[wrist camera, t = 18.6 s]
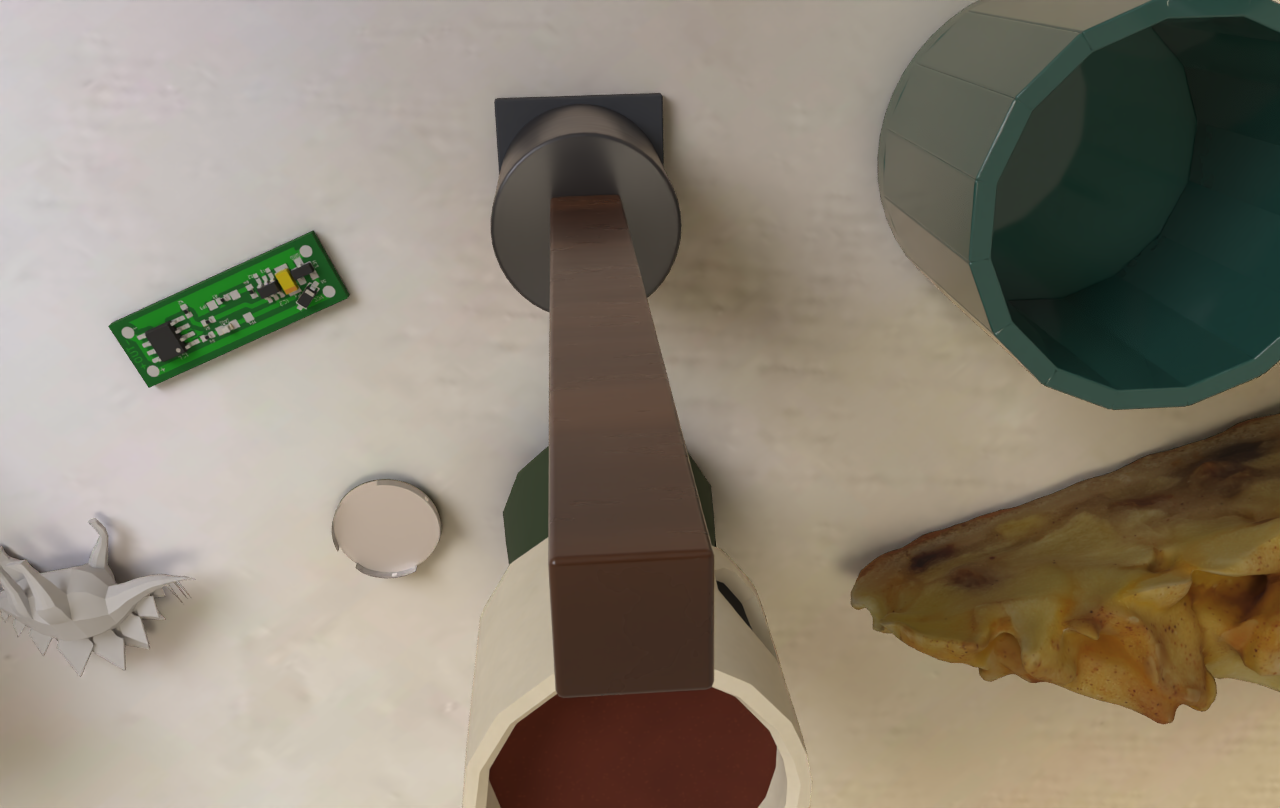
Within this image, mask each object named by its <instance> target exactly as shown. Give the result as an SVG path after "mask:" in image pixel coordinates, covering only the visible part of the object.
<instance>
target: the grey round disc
mask: <svg viewBox="0 0 1280 808" xmlns="http://www.w3.org/2000/svg"><path fill="white" fill-rule="evenodd" d="M440 533H441V522H440V517H439V514H438V511H437V509H436V507H435V505H434V503H433V502H432V501H431V499H430V498H429V497H428V496H427V495H426V494H425V493H424V492H422V491H421V490H420V489H418V488H416V487H415V486H413V485H411V484H408V483H405V482H402V481H398V480H391V479H380V480H373V481H369V482H366V483H363V484H361V485H359V486H357V487H355V488H354V489H352V490H351V491H350V492H349V493H347V494H346V495H345V496H344V498H343V499H342V500H341V502H340V503H339V505H338V507H337V509H336V512H335V515H334V518H333V522H332V538H333V542H334V545H335V547H336V549H337V551H338V550H339V546H340V548H341V549H342V551H343V552H344V553H345V554H346V555H347V556H348V557H349V558H350V559H351V560H352V561H354V562H355V563H357V565H356V569H358V570H359V571H360V572H362V573H364V574H366V575H370V576H373V577H379V578H397V577H402V576H406V575H408V574H411V573H413V572H415V571H416V568H417V565H419V564H420V563H422V562H423V561H424V560H425V559H427V558H428V557H429V556H430V554H431V553H432V552H433V551H434V549H435V547H436V545H437V543H438V541H439V540H440Z"/></svg>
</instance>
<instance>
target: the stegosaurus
mask: <svg viewBox="0 0 1280 808" xmlns="http://www.w3.org/2000/svg"><path fill="white" fill-rule="evenodd" d="M88 523H89V524H90V525H91V526H92V527H93V528H94V529H95V530H96V531H97V532H98V534H99V535H100V536H99V538H98V541H97V544H96V545H95V547H94V549H93V551H92V553H91V556H90V559H89V562H88V563H87V564H84V565H82V566H76V567H71V568H65V569H60V570H54V571H49V572H44V573H39V571H37V570H36V569H34V568H33V567H31V565H30V564H29V563H28V562H27V560H26V559H25V560H18V559H15V558H12V557H10V556H9V555H7V554H6V553H5V551H4V549H3V547H2V546H0V583H1V585H2V587H3V588H4V590H3V591H1V592H0V611H1V617H2V618H3V620H4V622H5V623H6V621H7V618H8V616H9V615H10V616H12V617H13V618H15V620H14V621H13V626H14V629H15V631H16V634H17V636H18V637H19V636H20V634H21V632H22V631H23V629H24V627H25V626H27V627H29V628H31V629H30V632H29V636H30V637H31V639H32V640H33V642H34V643H35V645H36V646H37V648H38V649H39V651H40V652H41V654H42V655H43V656H44V654H45V652H46V650H47V648H48V646H49V643H50V641H51V639H52V637H53V638H56V639H57V641H58V644H57V649H58V650H59V652H60V653H61V654H62V655H63V657H64V658H65V659H66V660H67V661H68V663H69V664H70V665H71V666H72V668H73V669H74V670H75V671H76V673H77V674H78V675H79V676H80V677H81V676H82V674H83V671H84V669H85V666H86V664H87V662H88V659H89V657H90V654H91V652H92V651H93V652H95V654H97V655H99V656H100V657H102V658H104V659H105V660H107V661H109V662H110V663H112V664H114V665H115V666H117V667H119V668H120V669H122V670H124V671H125V670H126V665H125V645H128V646H134V647H140V648H146V649H150V646H149V641H148V638H147V635H146V631H145V628H144V625H143V622H142V619H158V620H166V619H165V618H164V617H163V616H162V615H161V614H160V613H159V612H158V610H157V606H156V603H155V600H154V598H155V597H163V596H165V594H164V591H163V589H162V587H164V586H166V587H167V588H168V589H169V590H170V591H171V592H172V593H173V594H175V596H176V597H177V598H178V599H179V597H178V596H177V595H176V593H175V592H174V591H173V589H172V588H171V587H170V585H169V584H171V583H174V584H175V585H176V586H177V587H178V588H179V589H180V587H179V586H178V584H179V585H180V586H181V587H182V588H183V589H184V587H183V586H182V585H181V583H180V582H179V581H182V580H196V579H193V578H189V577H185V576H172V575H166V574H156V575H148V576H143V577H140V578H136V579H133V580H130V581H128V582H125V583H120V584H117V583H116V582H115V577H114V575H113V573H112V570H111V569H110V567H109V566H108V534H107V531H106V528H105V527H104V526H103V525H102V524H101V523H100V522H99V521H98V520H97V519H96V518H93V519H90V520H89V521H88ZM176 582H177V583H178V584H177V583H176ZM180 591H181V592H182V593H183V591H182V590H181V589H180ZM184 591H185V592H186V593H187V591H186V590H185V589H184ZM149 594H150V596H147V595H149ZM183 594H184V593H183ZM187 594H188V593H187ZM184 595H185V594H184ZM188 595H189V594H188ZM189 596H190V595H189ZM185 597H186V596H185ZM186 598H187V597H186ZM187 599H188V598H187ZM179 600H180V599H179ZM180 601H181V600H180ZM181 602H182V601H181ZM132 612H134V613H135V614H136V615H137V616H135V615H133V614H132Z"/></svg>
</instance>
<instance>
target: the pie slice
mask: <svg viewBox="0 0 1280 808" xmlns="http://www.w3.org/2000/svg"><path fill="white" fill-rule="evenodd" d="M851 605H852V607H853V608H854V609H857V610H860V609H863V608H867V609H868V610H869V611H870V613H871V615H872V617H873V629H874V630H876V631H879V632H882V633H893V634H894V635H895V636H896V637H897V638H899V639H900V640H901V641H903V642H904V643H906V644H907V645H908V646H910V647H913V648H915V649H916V650H918V651H920V652H922V653H925V654H927V655H930V656H932V657H934V658H937V659H939V660H943V661H946V662H950V663H964V664H968V665H971V666H973V667H978V668H979V674H980V676H981V677H982V678H983V679H984V680H986V681H990V682H992V681H994V680H996V679H998V678H1000V677H1003V676H1005V675H1008V674H1016V675H1018V676H1020V677H1021V678H1022V679H1024V680H1026V681H1028V682H1030V683H1037V682H1049V683H1053V684H1056V685H1059V686H1061V687H1064V688H1066V689H1068V690H1071V691H1073V692H1076V693H1079V694H1082V695H1085V696H1088V697H1091V698H1094V699H1098V700H1101V701H1105V702H1109V703H1113V704H1117V705H1121V706H1123V707H1126V708H1129V709H1132V710H1134V711H1136V712H1138V713H1140V714H1142V715H1145V716H1147V717H1148V718H1150V719H1152V720H1154V721H1155V722H1157V723H1160V724H1167V723H1171V722H1172V721H1173V720H1174V716H1175V712H1176V709H1177V708H1178V706H1179V705H1181V704H1185V705H1188V706H1190V707H1191V708H1193V709H1195V710H1198V711H1206V710H1207V709H1208V708H1209V707H1210V705H1211V704H1212V703H1213V702H1214V700H1215V698H1216V694H1217V689H1216V682H1215V679H1214V678H1218V679H1222V678H1234V679H1238V680H1243V681H1247V682H1252V683H1256V684H1259V685H1262V686H1265V687H1268V688H1271V689H1274V690H1276V691H1279V692H1280V414H1275V415H1270V416H1264V417H1259V418H1254V419H1251V420H1247V421H1244V422H1241V423H1239V424H1236V425H1234V426H1233V427H1231V428H1229V429H1227V430H1226V431H1224V432H1222V433H1220V434H1217V435H1215V436H1212V437H1210V438H1207V439H1204V440H1201V441H1197V442H1194V443H1190V444H1187V445H1184V446H1181V447H1178V448H1175V449H1172V450H1168V451H1164V452H1159V453H1155V454H1150V455H1147V456H1145V457H1142V458H1140V459H1138V460H1136V461H1135V462H1133V463H1131V464H1129V465H1127V466H1125V467H1123V468H1120V469H1118V470H1116V471H1114V472H1111V473H1109V474H1106V475H1102V476H1098V477H1094V478H1091V479H1087V480H1084V481H1081V482H1078V483H1076V484H1074V485H1071V486H1069V487H1067V488H1065V489H1063V490H1060V491H1058V492H1055V493H1053V494H1050V495H1047V496H1044V497H1041V498H1038V499H1036V500H1033V501H1031V502H1028V503H1025V504H1023V505H1020V506H1017V507H1014V508H1010V509H1003V510H999V511H996V512H992V513H989V514H985V515H982V516H979V517H976V518H974V519H972V520H969V521H967V522H964V523H960V524H957V525H954V526H952V527H949V528H946V529H943V530H939V531H934V532H930V533H927V534H924V535H922V536H921V537H919V538H917V539H916V540H914V541H913V542H911V543H910V544H908V545H906V546H904V547H903V548H900V549H897V550H893V551H890V552H887V553H885V554H883V555H881V556H879V557H878V558H876V559H875V560H873V561H872V562H871V563H869V564H868V565H867V566H866V567H865V568H864V569H862V570H861V572H860V574H859V576H858V578H857V580H856V582H855V585H854V587H853V589H852V591H851Z"/></svg>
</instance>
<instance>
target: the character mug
mask: <svg viewBox="0 0 1280 808" xmlns="http://www.w3.org/2000/svg"><path fill="white" fill-rule="evenodd" d="M687 453H688V452H687ZM688 457H689V461H690V465H691V468H692V472H693V476H694V480H695V484H696V487H697V491H698V495H699V499H700V503H701V507H702V510H703V514H704V518H705V522H706V526H707V529H708V533H709V537H710V541H711V545H712V549H713V552H714V682H713V685H712V687H711V688H709V689H706V690H689V691H673V692H656V693H639V694H623V695H606V696H589V697H573V698H562V697H559V696H558V694H557V692H556V690H555V673H554V656H553V639H552V621H551V604H550V587H549V570H548V506H549V446H548V447H547V448H546V449H544V450H543V451H542V452H541V453H540V454H539V455H538V456H537V457H535V458H534V459H533V460H532V461H531V462H530V463H529V464H527V465H526V466H525V467H524V468H523V469H522V470H521V471H519V472H518V474H517V477H516V479H515V482H514V485H513V487H512V490H511V493H510V495H509V498H508V500H507V503H506V506H505V508H504V511H503V518H504V527H505V537H506V546H507V552H508V559H509V567H508V569H507V570H506V572H505V574H504V575H503V577H502V579H501V580H500V582H499V584H498V585H497V587H496V589H495V590H494V592H493V594H492V595H491V597H490V599H489V600H488V602H487V604H486V605H485V607H484V609H483V612H482V614H481V616H480V621H479V631H478V640H477V650H476V659H475V669H474V678H473V688H472V697H471V707H470V716H469V726H468V735H467V745H466V757H465V773H464V789H463V804H462V808H810V800H811V790H812V777H811V772H810V767H809V761H808V756H807V752H806V748H805V744H804V740H803V736H802V733H801V730H800V727H799V723H798V720H797V717H796V714H795V710H794V707H793V704H792V701H791V698H790V694H789V692H788V689H787V686H786V683H785V679H784V676H783V673H782V669H781V665H780V662H779V658H778V655H777V651H776V648H775V645H774V642H773V639H772V636H771V633H770V631H769V628H768V624H767V620H766V616H765V614H764V611H763V608H762V605H761V602H760V600H759V597H758V594H757V591H756V589H755V587H754V585H753V584H752V582H751V581H750V580H749V578H748V577H747V576H746V575H745V574H744V573H743V572H742V571H741V570H740V569H739V567H738V566H737V565H736V564H735V563H734V562H733V561H732V560H731V559H730V558H729V556H728V555H727V554H726V553H725V552H724V551H723V550H722V549H719V548H717V547H716V541H715V525H714V513H713V503H712V492H711V485H710V484H709V482H708V481H707V479H706V478H705V476H704V475H703V474H702V472H701V471H700V469H699V468H698V466H697V465H696V463H695V462H694V461H693V459H692V458H691V456H690V455H689V453H688Z"/></svg>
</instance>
